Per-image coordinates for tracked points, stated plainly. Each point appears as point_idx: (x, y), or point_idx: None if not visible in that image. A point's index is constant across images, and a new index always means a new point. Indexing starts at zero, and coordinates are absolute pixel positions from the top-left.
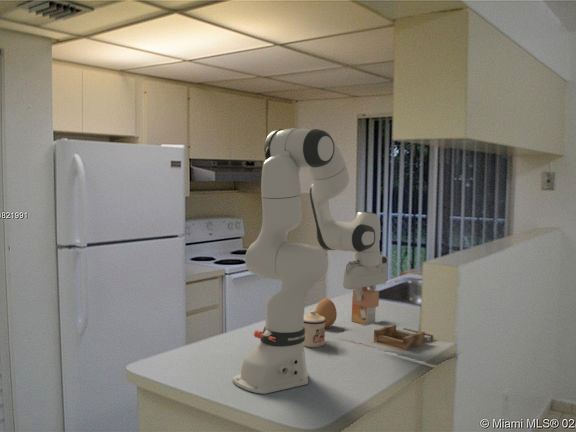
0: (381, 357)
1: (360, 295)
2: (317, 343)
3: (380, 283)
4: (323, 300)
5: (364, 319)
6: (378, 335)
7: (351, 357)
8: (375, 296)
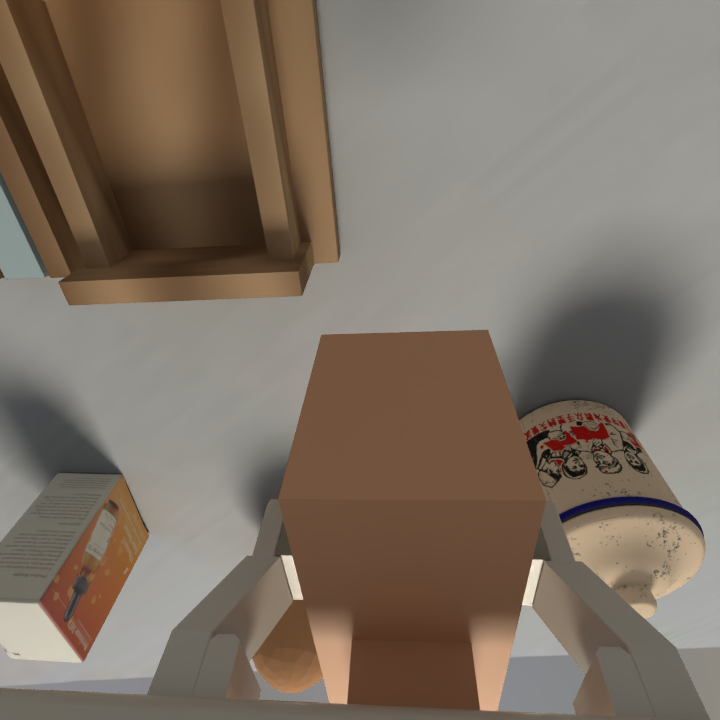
0: (500, 18)
1: (586, 567)
2: (606, 413)
3: (19, 708)
4: (311, 682)
5: (112, 504)
6: (292, 252)
7: (644, 168)
8: (400, 436)
